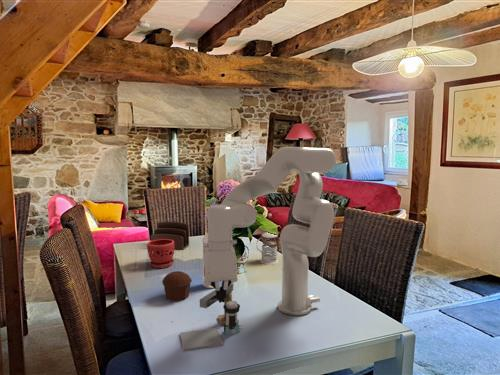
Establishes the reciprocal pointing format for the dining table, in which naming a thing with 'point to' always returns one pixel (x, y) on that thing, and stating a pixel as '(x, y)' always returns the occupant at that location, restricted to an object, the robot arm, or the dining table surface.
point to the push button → (231, 318)
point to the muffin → (177, 286)
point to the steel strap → (213, 297)
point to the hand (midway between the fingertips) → (221, 300)
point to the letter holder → (173, 233)
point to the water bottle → (205, 245)
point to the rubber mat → (200, 339)
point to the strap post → (223, 317)
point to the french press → (269, 249)
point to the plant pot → (161, 252)
